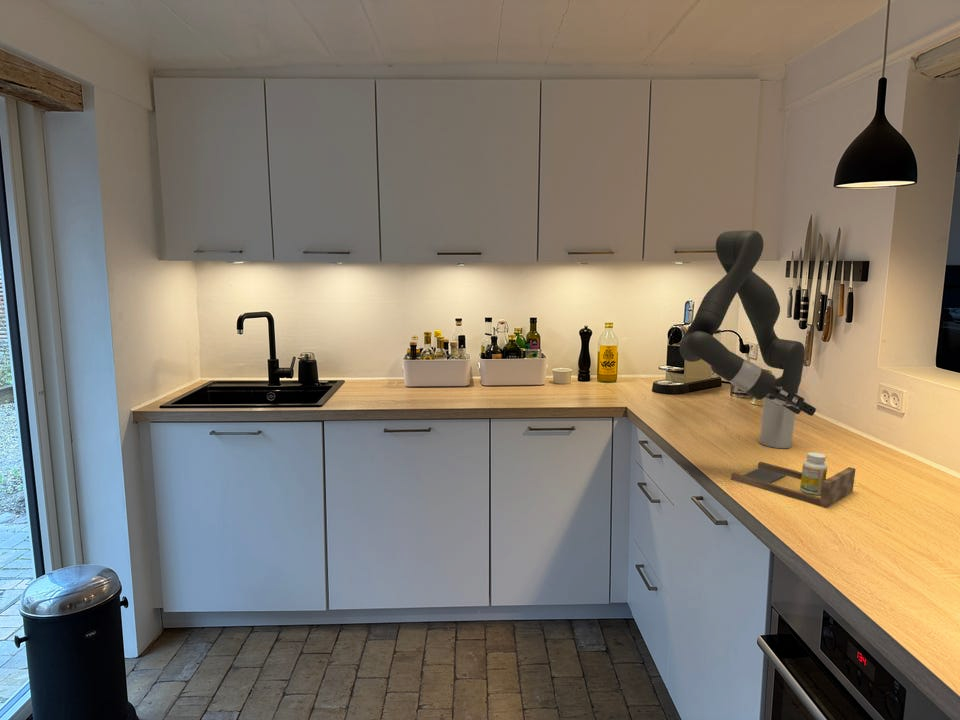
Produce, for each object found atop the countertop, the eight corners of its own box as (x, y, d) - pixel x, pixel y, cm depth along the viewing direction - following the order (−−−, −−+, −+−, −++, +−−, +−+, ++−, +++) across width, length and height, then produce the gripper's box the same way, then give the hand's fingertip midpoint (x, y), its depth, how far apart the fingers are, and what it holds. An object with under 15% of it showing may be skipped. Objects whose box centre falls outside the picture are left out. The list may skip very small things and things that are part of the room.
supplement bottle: (808, 495, 153) (812, 458, 151) (795, 487, 158) (799, 451, 156) (828, 495, 153) (833, 458, 152) (815, 487, 158) (819, 451, 157)
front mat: (759, 469, 171) (759, 467, 171) (785, 476, 166) (785, 474, 166) (738, 478, 163) (739, 476, 163) (765, 485, 158) (765, 484, 158)
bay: (760, 466, 174) (762, 445, 173) (852, 491, 156) (855, 468, 155) (730, 479, 163) (732, 457, 162) (826, 507, 145) (829, 483, 144)
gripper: (768, 366, 156) (827, 400, 154) (749, 367, 170) (803, 399, 168) (752, 391, 156) (810, 426, 154) (735, 390, 170) (788, 422, 168)
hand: (806, 411), depth 161 cm, fingers open, 8 cm apart
